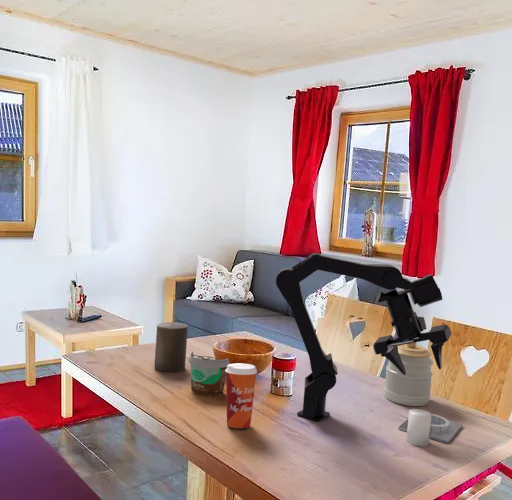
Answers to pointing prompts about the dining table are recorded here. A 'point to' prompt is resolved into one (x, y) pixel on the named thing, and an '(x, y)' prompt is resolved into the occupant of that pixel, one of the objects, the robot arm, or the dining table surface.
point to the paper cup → (240, 394)
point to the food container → (207, 374)
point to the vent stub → (418, 427)
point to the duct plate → (439, 435)
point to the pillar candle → (171, 346)
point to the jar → (410, 377)
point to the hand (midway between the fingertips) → (422, 371)
